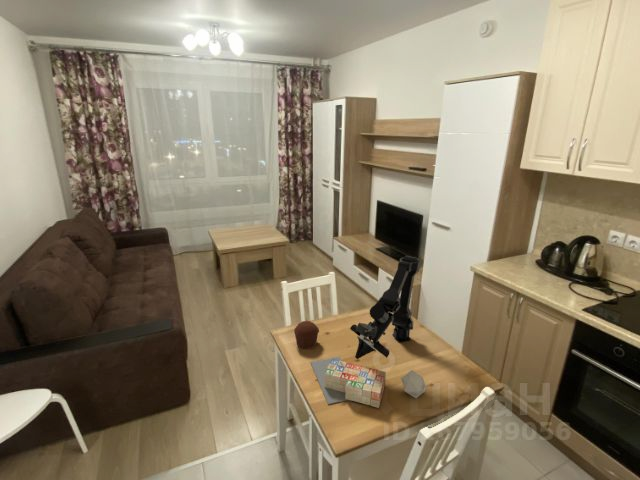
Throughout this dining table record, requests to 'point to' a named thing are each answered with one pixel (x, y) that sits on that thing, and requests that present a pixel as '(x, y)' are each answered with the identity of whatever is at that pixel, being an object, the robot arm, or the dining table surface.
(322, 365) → the mat
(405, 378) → the die
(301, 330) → the muffin
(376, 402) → the stack of blocks
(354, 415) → the dining table surface
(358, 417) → the dining table surface
